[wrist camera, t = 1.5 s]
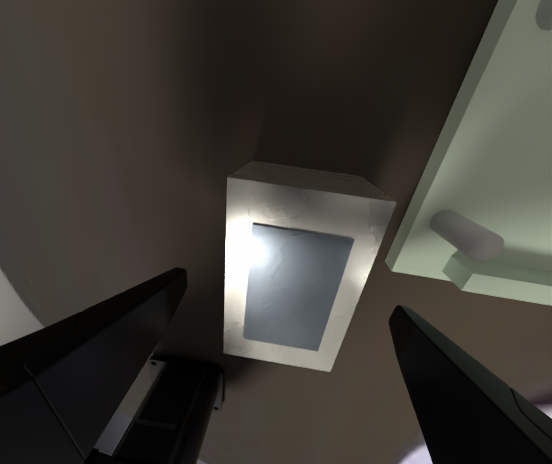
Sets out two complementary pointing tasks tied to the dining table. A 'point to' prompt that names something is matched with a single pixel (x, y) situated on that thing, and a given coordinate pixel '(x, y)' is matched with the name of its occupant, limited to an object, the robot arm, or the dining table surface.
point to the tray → (491, 169)
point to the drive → (297, 260)
